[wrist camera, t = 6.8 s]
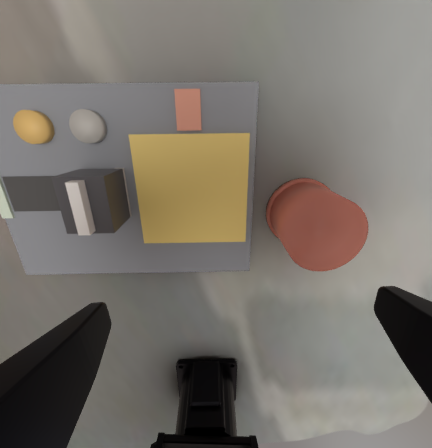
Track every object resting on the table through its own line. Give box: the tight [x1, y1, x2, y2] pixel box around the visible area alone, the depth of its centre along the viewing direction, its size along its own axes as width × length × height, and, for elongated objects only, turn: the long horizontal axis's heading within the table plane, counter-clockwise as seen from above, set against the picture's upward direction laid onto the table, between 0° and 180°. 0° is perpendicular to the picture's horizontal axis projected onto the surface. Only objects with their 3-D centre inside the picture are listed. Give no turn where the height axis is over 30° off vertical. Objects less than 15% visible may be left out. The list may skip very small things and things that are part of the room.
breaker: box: [51, 169, 130, 235], centre depth 15 cm, size 4×3×4 cm
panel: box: [0, 81, 259, 275], centre depth 17 cm, size 14×19×2 cm
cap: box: [266, 178, 368, 271], centre depth 16 cm, size 5×5×5 cm
